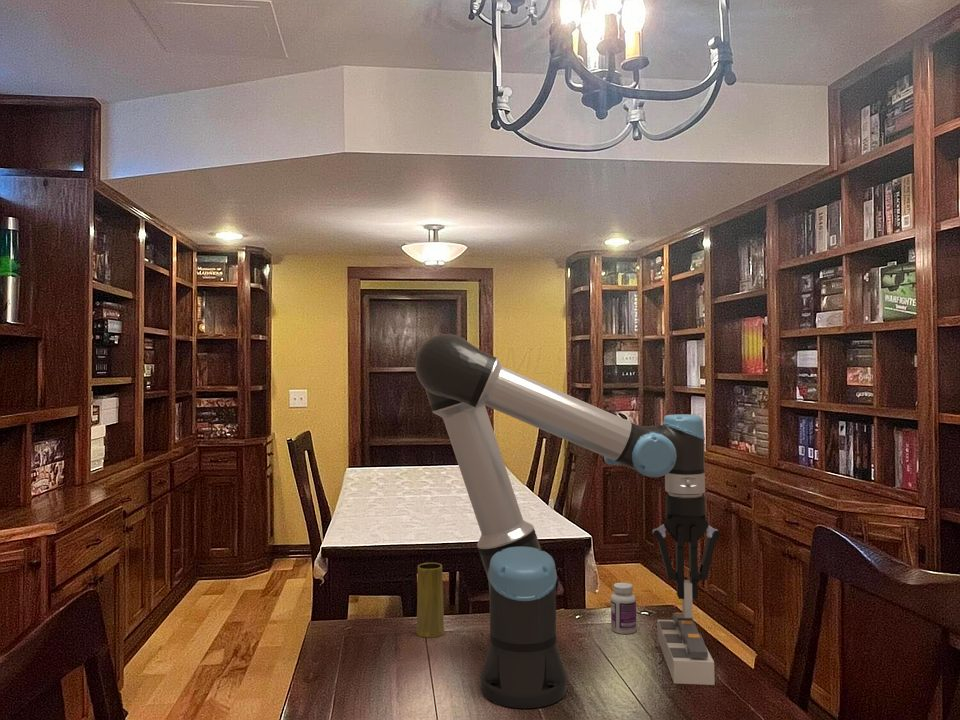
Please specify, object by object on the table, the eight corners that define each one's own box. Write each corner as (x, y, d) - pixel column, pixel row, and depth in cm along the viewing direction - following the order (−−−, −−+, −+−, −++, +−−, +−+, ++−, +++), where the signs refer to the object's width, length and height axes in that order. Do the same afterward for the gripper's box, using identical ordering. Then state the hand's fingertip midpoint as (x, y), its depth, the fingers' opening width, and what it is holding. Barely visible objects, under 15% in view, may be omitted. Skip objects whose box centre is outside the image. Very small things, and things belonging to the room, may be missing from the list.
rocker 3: (690, 657, 128) (690, 650, 128) (684, 639, 134) (684, 632, 134) (707, 658, 128) (707, 651, 128) (701, 639, 134) (701, 633, 133)
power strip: (674, 683, 128) (673, 656, 128) (657, 638, 149) (657, 616, 149) (714, 685, 127) (714, 658, 127) (692, 640, 148) (692, 617, 148)
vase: (413, 629, 155) (412, 563, 155) (440, 626, 157) (440, 560, 157) (419, 639, 149) (419, 570, 150) (448, 636, 151) (447, 568, 151)
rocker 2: (683, 642, 135) (683, 636, 135) (678, 625, 141) (678, 619, 141) (699, 643, 135) (700, 636, 134) (693, 626, 141) (694, 620, 140)
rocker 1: (677, 624, 142) (677, 617, 142) (672, 619, 148) (672, 612, 148) (693, 624, 141) (692, 617, 142) (687, 619, 147) (687, 612, 148)
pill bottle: (640, 628, 155) (639, 583, 155) (631, 636, 150) (630, 590, 150) (616, 624, 157) (615, 579, 158) (607, 631, 153) (606, 586, 153)
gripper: (653, 497, 137) (656, 621, 137) (723, 497, 136) (726, 622, 135) (648, 490, 145) (651, 608, 144) (715, 490, 143) (717, 609, 143)
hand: (687, 615), depth 140 cm, fingers closed
